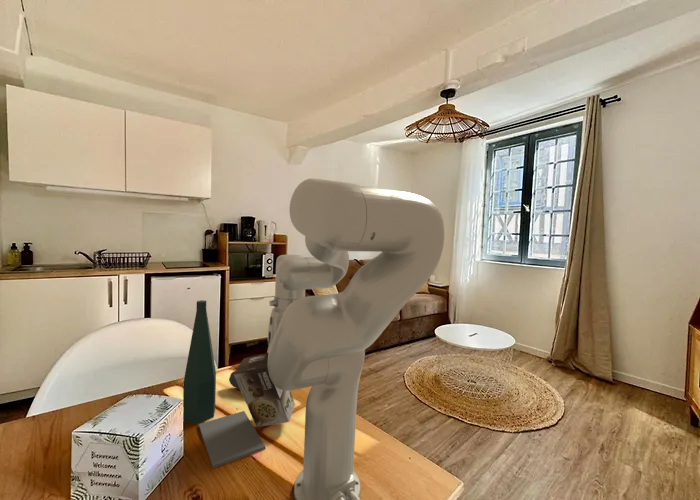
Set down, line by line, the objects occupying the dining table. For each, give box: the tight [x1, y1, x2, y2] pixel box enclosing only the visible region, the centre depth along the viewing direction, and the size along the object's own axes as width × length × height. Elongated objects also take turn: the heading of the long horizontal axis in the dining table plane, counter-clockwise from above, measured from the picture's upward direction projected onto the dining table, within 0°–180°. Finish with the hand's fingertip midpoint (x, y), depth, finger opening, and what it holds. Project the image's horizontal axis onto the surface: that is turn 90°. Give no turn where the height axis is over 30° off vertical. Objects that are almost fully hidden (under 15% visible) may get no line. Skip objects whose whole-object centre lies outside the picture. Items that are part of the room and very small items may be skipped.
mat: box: [198, 410, 267, 469], centre depth 74 cm, size 16×11×1 cm
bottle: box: [182, 300, 217, 425], centre depth 81 cm, size 8×8×30 cm
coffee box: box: [234, 352, 296, 428], centre depth 78 cm, size 9×6×16 cm
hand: (287, 373), depth 81 cm, fingers closed
